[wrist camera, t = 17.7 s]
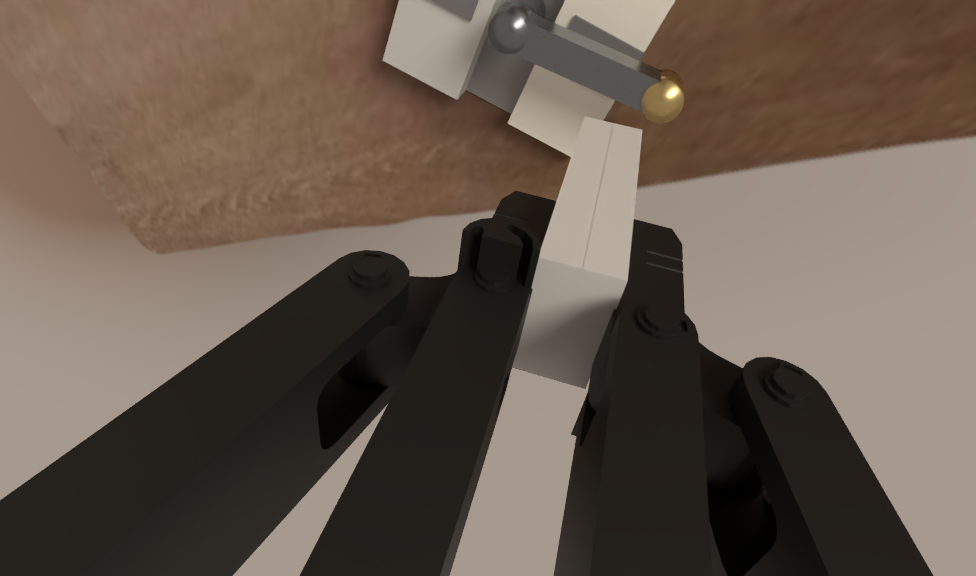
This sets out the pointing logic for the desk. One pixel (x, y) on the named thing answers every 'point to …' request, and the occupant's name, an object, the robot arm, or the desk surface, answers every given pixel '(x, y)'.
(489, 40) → the lever
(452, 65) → the door mockup
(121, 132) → the desk surface
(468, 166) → the desk surface
